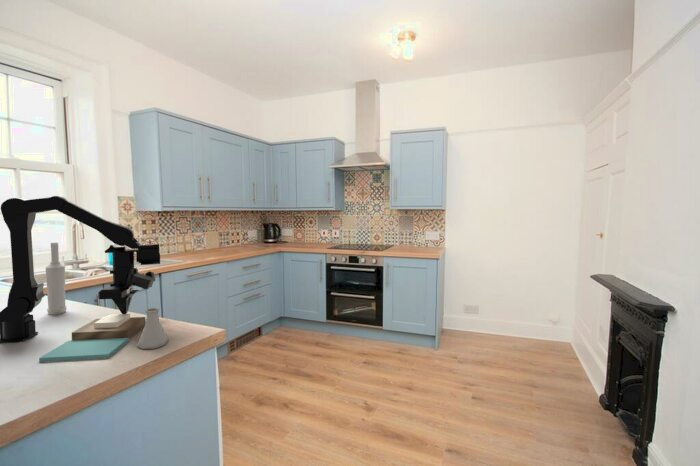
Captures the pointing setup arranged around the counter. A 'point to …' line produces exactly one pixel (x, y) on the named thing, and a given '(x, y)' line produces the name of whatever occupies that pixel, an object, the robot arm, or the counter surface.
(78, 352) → the teal mat
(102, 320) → the cream tile
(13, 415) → the counter surface
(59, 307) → the bottle
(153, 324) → the flask
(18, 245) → the robot arm
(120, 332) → the walnut deck
